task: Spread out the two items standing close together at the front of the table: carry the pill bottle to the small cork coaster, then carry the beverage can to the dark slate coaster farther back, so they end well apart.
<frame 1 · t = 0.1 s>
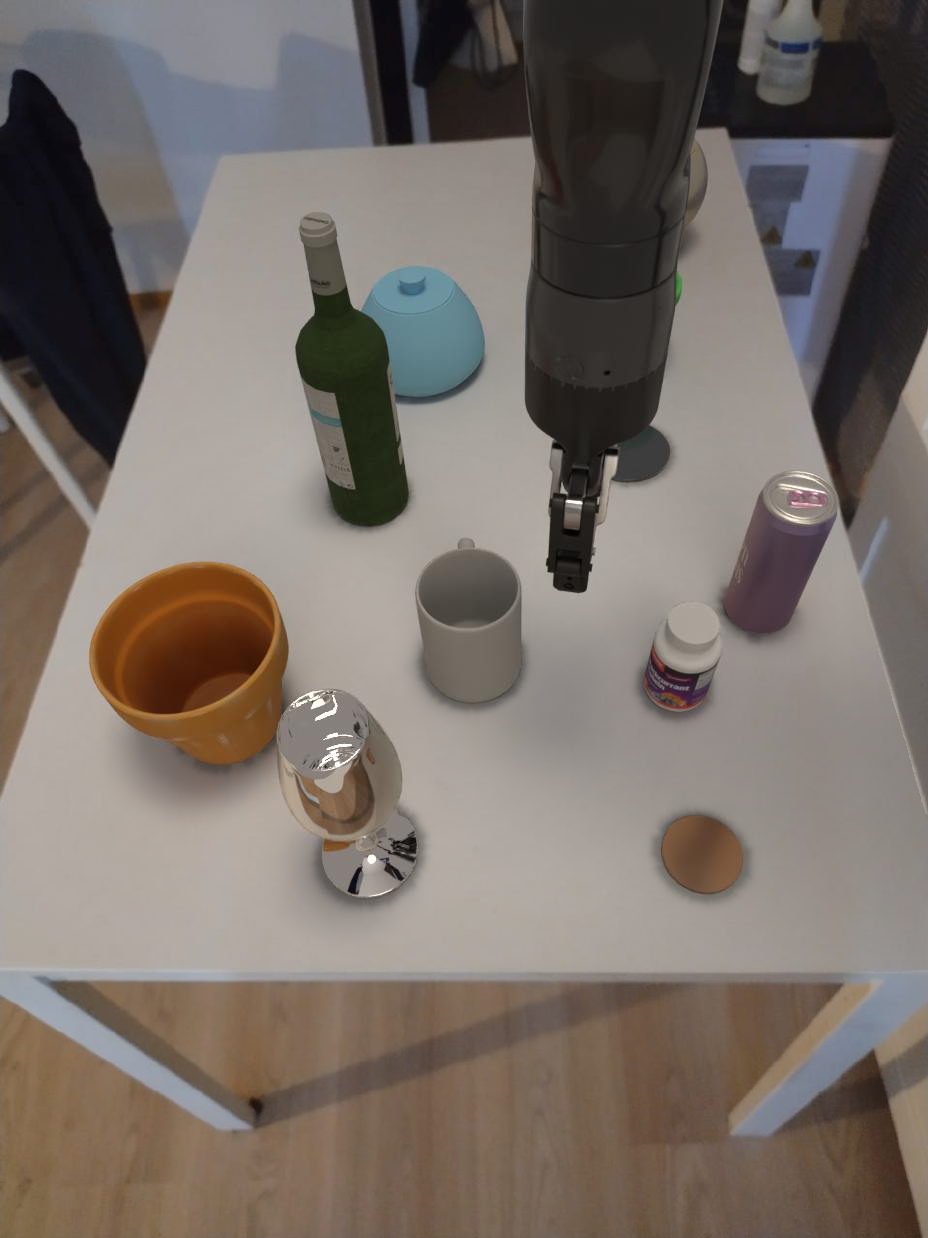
hand: (578, 537, 58), 20 cm above the table, tool pointing down, fingers open, 8 cm apart
pill bottle: (674, 687, 74), on the table
wine bottle: (371, 499, 89), on the table
slate coaster: (626, 451, 91), on the table
mug: (472, 647, 77), on the table
cork coaster: (701, 854, 65), on the table
beverage can: (755, 611, 78), on the table
flower pot: (232, 719, 74), on the table
teapot: (644, 250, 112), on the table
wineglass: (370, 850, 67), on the table
sippy cup: (622, 360, 99), on the table
sugar bowl: (421, 363, 101), on the table
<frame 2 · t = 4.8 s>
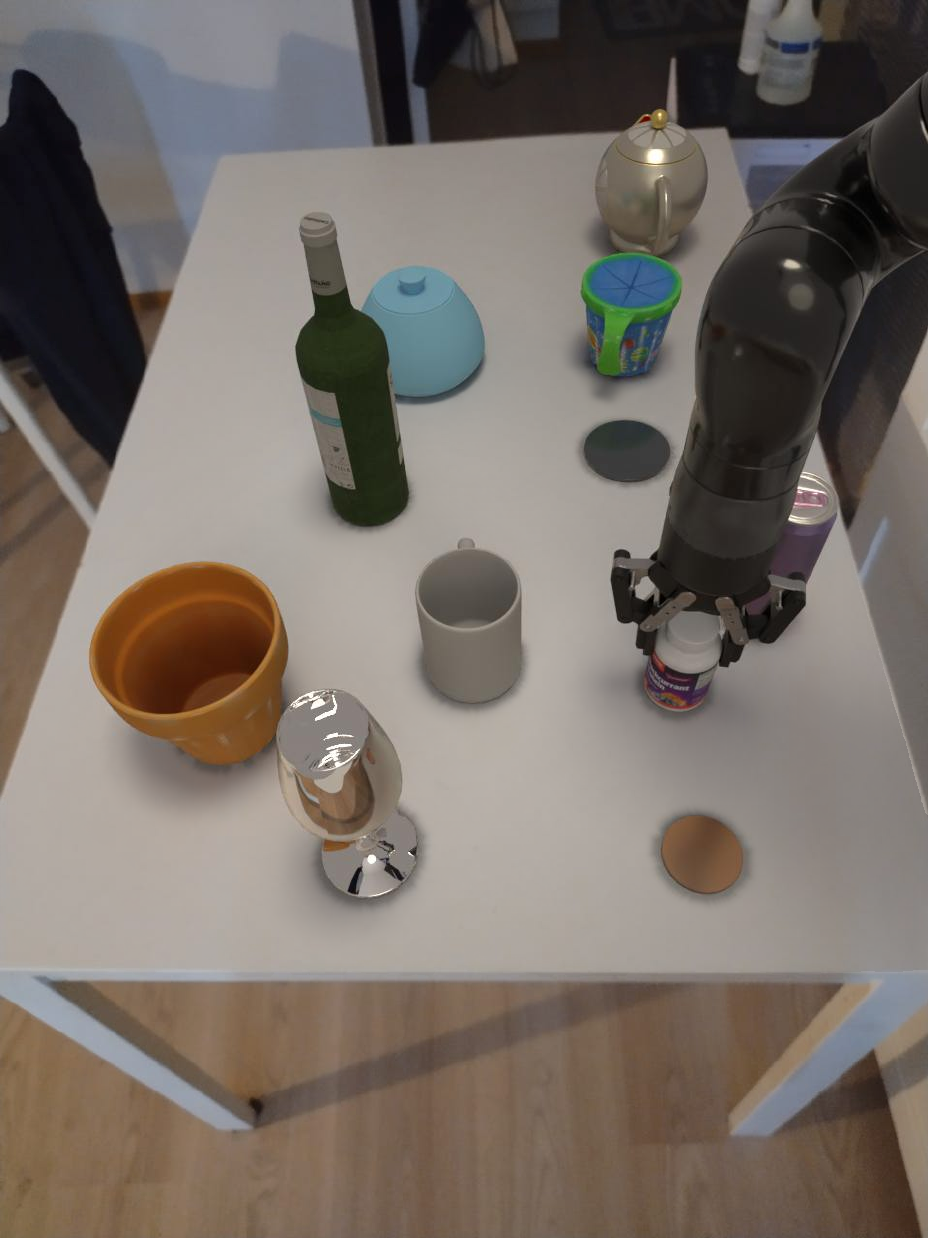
hand: (685, 651, 69), 5 cm above the table, tool pointing down, fingers closed on pill bottle, 5 cm apart
pill bottle: (674, 687, 74), on the table, touching gripper
everything else where it was.
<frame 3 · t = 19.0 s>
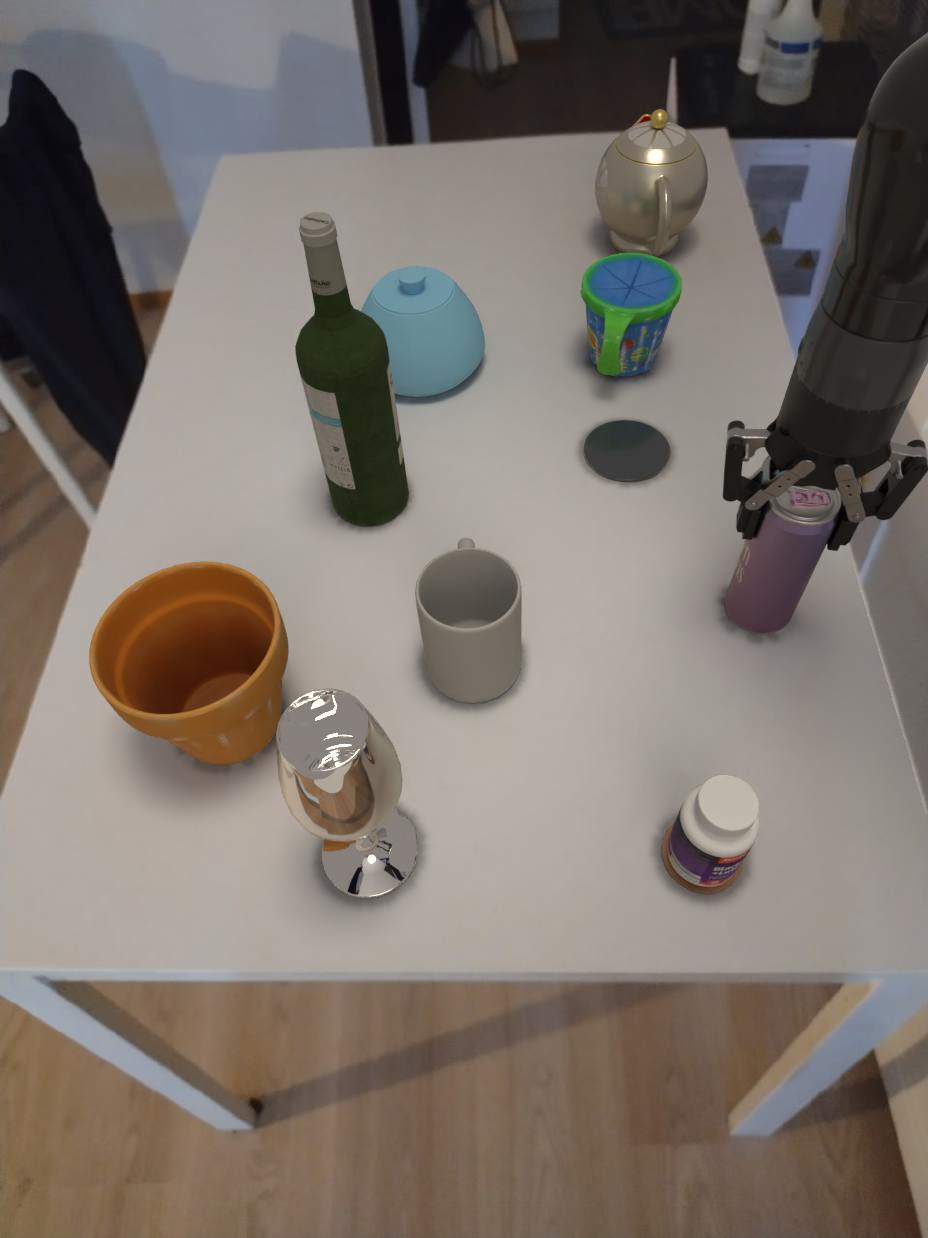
hand: (789, 536, 69), 11 cm above the table, tool pointing down, fingers closed on beverage can, 6 cm apart
pill bottle: (702, 854, 65), resting on cork coaster
beverage can: (755, 611, 78), on the table, touching gripper
everything else where it was.
when the fingers open (11 cm above the table, at t = 26.9 s): beverage can stays where it is, resting on slate coaster.
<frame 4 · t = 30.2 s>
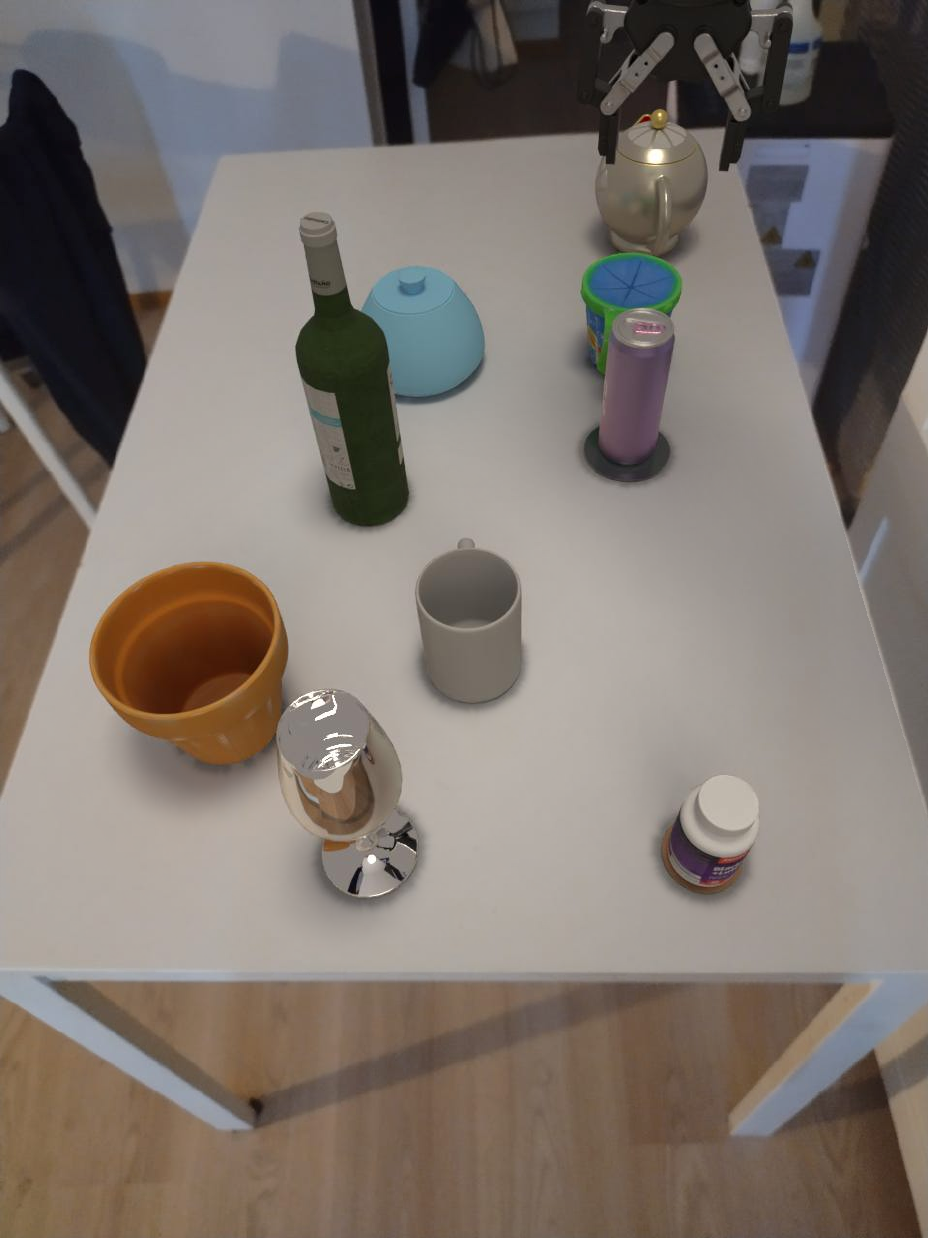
hand: (667, 162, 66), 30 cm above the table, tool pointing down, fingers open, 8 cm apart
beverage can: (626, 449, 91), resting on slate coaster
everything else where it was.
at the end: pill bottle 0.0 cm off-centre on the cork coaster, point 0.1 cm above the cork coaster's base; beverage can 0.2 cm off-centre on the slate coaster, point 0.1 cm above the slate coaster's base; beverage can tilted 0° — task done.
